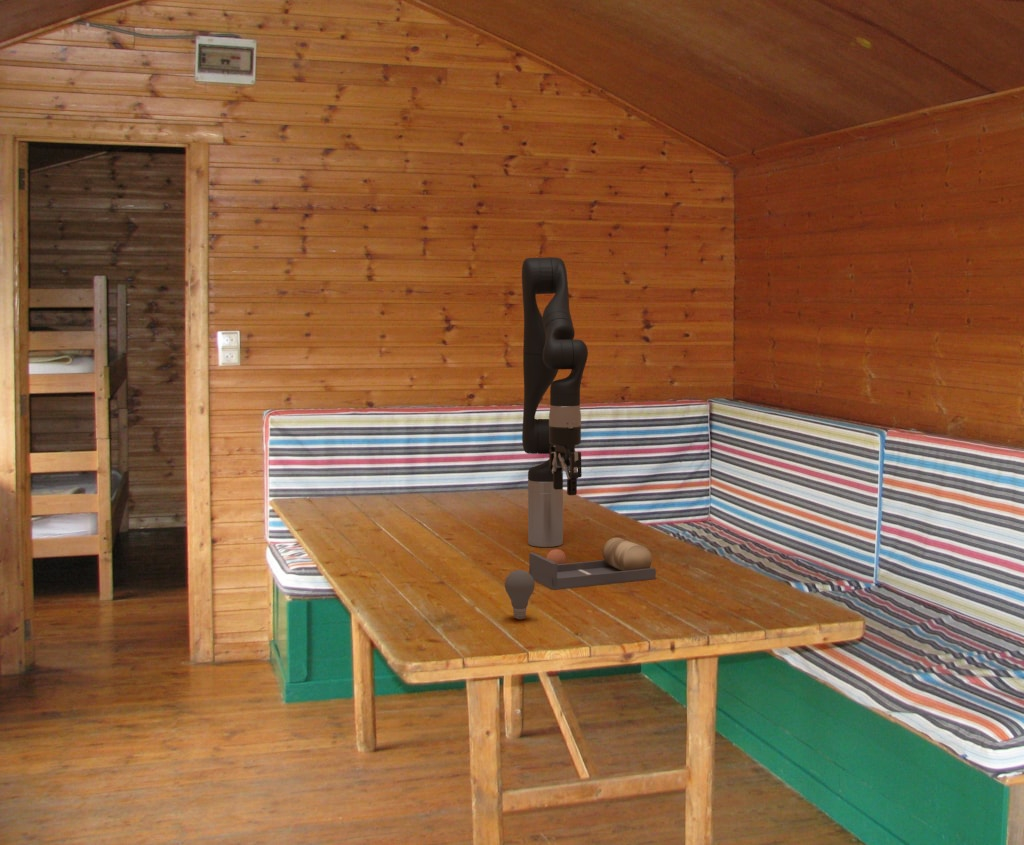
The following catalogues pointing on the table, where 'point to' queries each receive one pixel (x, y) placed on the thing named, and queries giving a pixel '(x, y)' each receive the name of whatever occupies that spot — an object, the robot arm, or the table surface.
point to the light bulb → (519, 591)
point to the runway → (581, 573)
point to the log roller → (626, 555)
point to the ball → (557, 556)
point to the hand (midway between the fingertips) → (564, 492)
